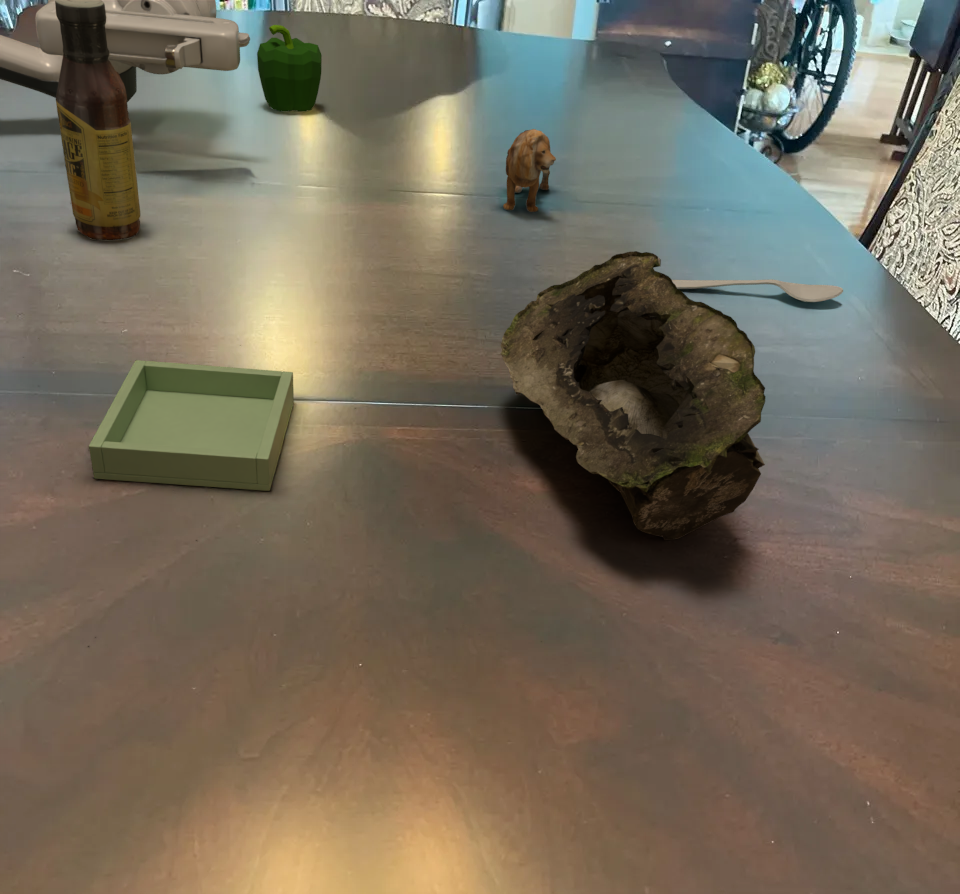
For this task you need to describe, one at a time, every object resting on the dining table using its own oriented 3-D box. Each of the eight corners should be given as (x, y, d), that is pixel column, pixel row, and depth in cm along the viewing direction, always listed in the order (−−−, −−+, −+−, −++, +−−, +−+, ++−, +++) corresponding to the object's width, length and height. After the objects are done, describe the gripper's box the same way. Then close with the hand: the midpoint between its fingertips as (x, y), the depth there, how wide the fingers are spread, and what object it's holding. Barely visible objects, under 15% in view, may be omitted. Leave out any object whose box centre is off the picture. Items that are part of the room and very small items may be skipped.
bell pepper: (315, 100, 145) (314, 18, 139) (327, 117, 140) (327, 32, 133) (254, 100, 143) (250, 16, 136) (264, 117, 137) (260, 30, 131)
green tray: (93, 478, 70) (88, 445, 68) (139, 390, 79) (135, 359, 78) (269, 491, 70) (268, 458, 69) (293, 402, 80) (293, 371, 78)
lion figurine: (547, 225, 115) (559, 137, 109) (499, 220, 115) (508, 132, 109) (549, 183, 126) (560, 102, 120) (505, 178, 126) (514, 97, 120)
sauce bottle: (72, 222, 104) (34, -11, 91) (137, 219, 106) (109, -9, 93) (81, 247, 99) (43, 5, 86) (149, 243, 101) (121, 7, 89)
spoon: (843, 312, 103) (848, 296, 102) (636, 291, 103) (639, 275, 102) (834, 295, 107) (839, 279, 106) (632, 275, 106) (635, 259, 105)
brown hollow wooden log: (680, 641, 70) (881, 503, 64) (566, 538, 62) (783, 372, 57) (580, 420, 90) (726, 301, 84) (484, 321, 82) (638, 184, 77)
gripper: (254, 67, 116) (232, 99, 106) (66, 49, 115) (25, 80, 105) (251, 2, 112) (228, 28, 102) (56, -18, 111) (12, 7, 100)
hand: (123, 54), depth 103 cm, fingers open, 8 cm apart
